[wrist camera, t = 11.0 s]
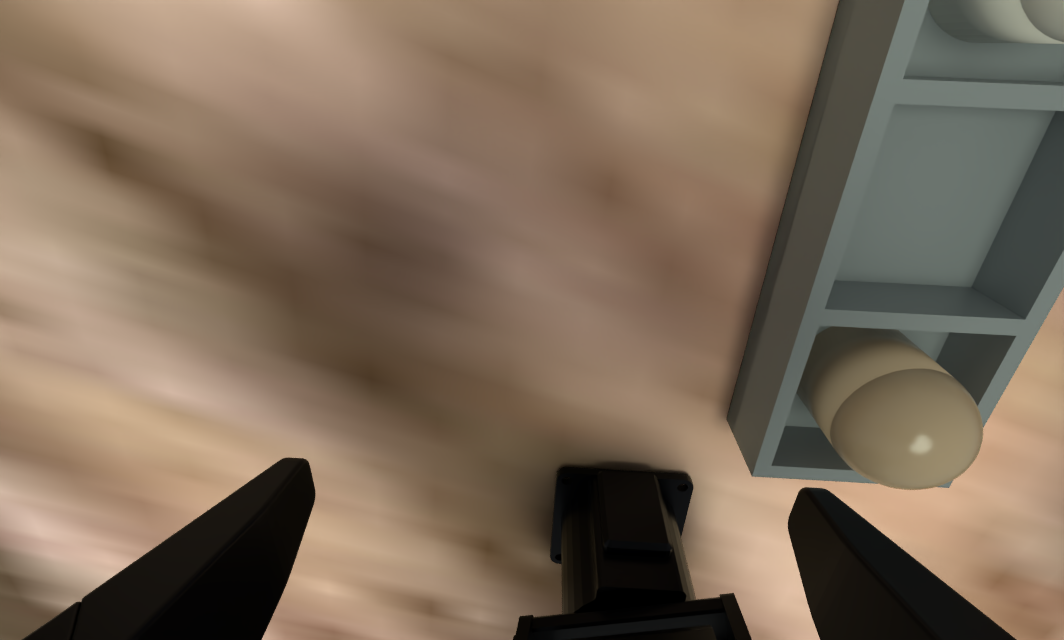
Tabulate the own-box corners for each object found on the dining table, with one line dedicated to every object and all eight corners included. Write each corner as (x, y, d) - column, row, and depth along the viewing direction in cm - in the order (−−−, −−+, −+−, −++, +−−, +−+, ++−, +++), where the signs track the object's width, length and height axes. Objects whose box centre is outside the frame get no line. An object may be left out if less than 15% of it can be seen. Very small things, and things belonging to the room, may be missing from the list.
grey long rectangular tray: (897, 428, 23) (949, 487, 20) (726, 419, 24) (752, 476, 21) (1198, -210, 13) (1388, -283, 10) (899, -219, 14) (998, -294, 11)
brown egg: (885, 414, 22) (980, 523, 17) (779, 408, 22) (843, 515, 17) (926, 321, 20) (1049, 415, 15) (809, 315, 20) (892, 407, 15)
